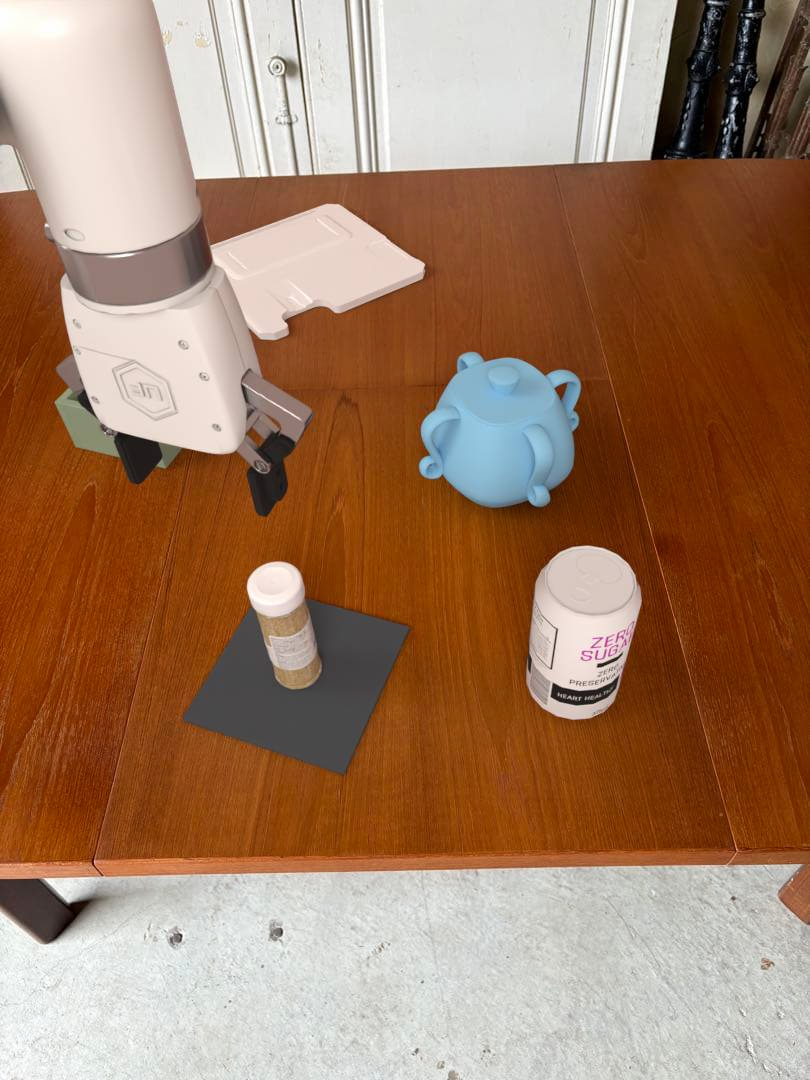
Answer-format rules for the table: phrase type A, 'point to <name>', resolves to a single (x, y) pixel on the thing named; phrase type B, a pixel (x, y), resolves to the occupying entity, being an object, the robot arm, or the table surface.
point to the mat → (309, 713)
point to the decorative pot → (502, 431)
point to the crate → (97, 430)
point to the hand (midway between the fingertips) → (208, 486)
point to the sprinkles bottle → (285, 623)
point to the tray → (311, 267)
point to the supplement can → (581, 631)
